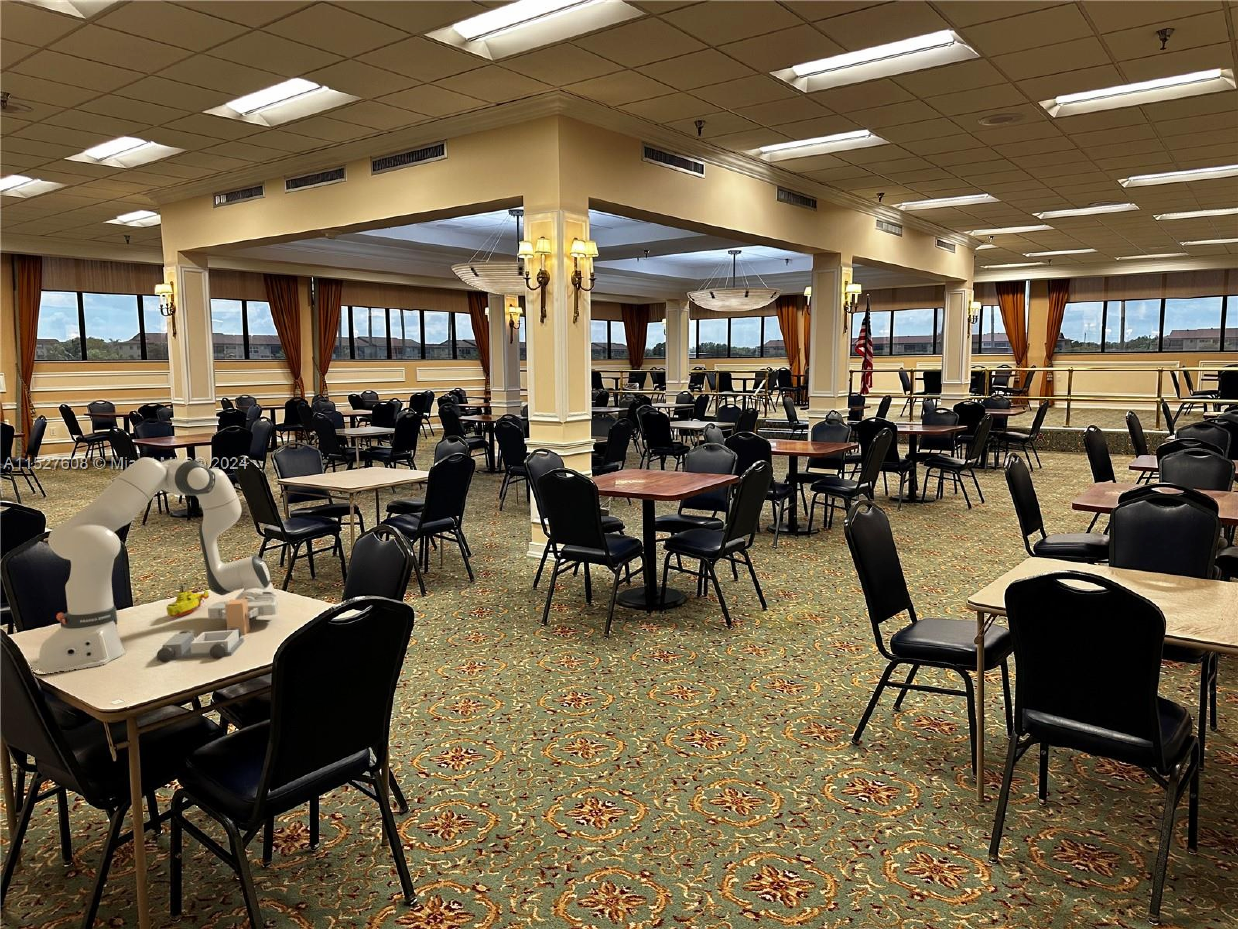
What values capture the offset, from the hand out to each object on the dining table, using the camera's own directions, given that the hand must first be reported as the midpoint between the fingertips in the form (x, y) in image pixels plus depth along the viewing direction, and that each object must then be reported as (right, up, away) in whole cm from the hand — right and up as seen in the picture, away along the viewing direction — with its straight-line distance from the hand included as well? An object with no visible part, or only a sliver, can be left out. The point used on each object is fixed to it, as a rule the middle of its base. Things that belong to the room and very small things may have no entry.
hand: (236, 616), depth 254 cm
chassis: (-4, -7, -14) cm, 16 cm away
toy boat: (-28, -4, +23) cm, 36 cm away
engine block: (0, -5, +2) cm, 6 cm away
